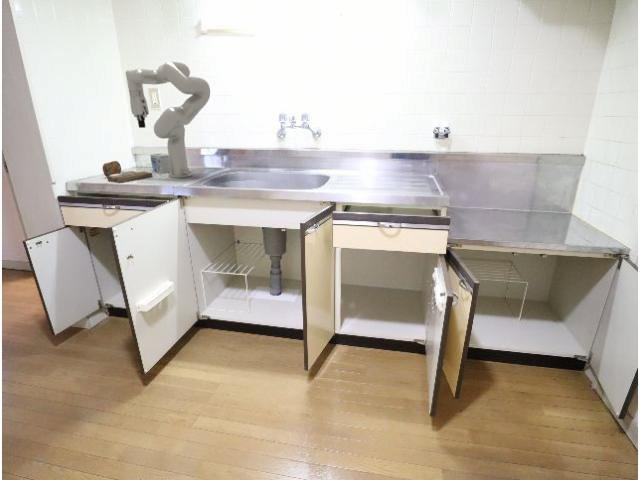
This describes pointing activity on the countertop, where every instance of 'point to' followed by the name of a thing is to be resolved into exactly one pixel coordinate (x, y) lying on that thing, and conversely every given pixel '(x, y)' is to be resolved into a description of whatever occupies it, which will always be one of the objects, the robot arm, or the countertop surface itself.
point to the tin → (111, 168)
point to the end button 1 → (115, 175)
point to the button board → (130, 177)
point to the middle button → (127, 172)
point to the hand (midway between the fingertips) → (142, 127)
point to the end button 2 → (138, 171)
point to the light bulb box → (160, 163)
